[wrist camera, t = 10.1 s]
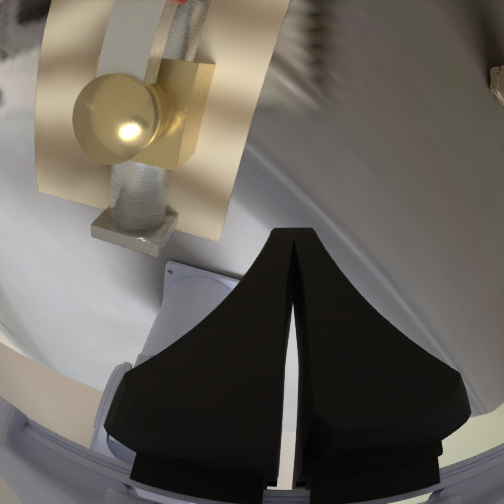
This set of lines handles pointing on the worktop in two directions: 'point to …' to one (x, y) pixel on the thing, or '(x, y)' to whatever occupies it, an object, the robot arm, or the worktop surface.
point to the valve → (161, 143)
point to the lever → (126, 84)
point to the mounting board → (213, 123)
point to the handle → (497, 82)
